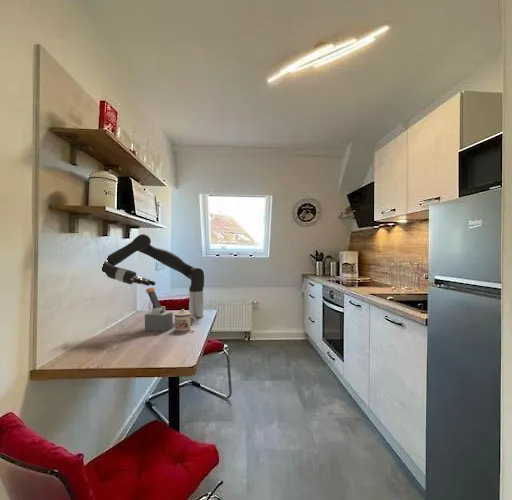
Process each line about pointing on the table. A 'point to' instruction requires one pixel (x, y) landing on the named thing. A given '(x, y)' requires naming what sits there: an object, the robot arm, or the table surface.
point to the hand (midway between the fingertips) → (152, 284)
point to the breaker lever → (154, 298)
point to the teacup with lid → (183, 321)
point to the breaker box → (158, 320)
